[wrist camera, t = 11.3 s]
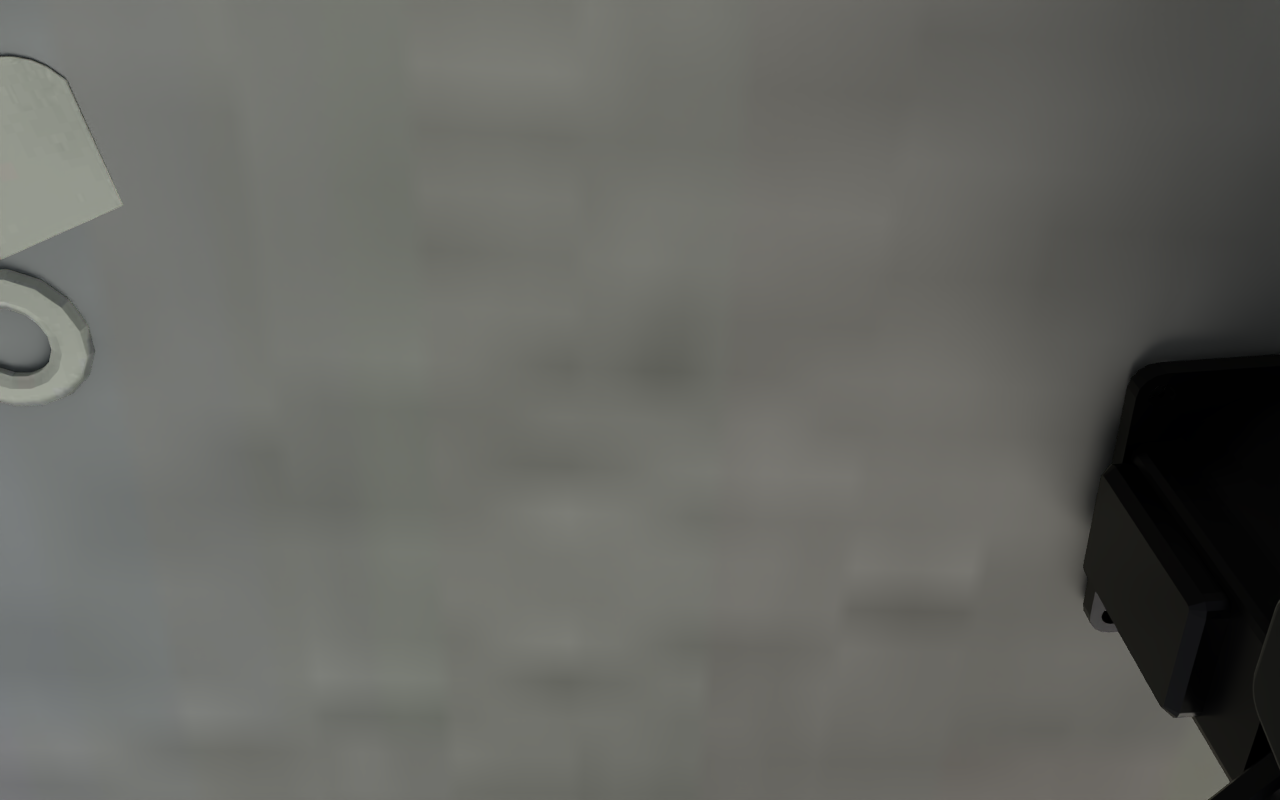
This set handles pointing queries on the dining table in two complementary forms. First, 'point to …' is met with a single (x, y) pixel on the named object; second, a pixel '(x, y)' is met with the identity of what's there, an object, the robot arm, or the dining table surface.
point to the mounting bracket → (45, 216)
